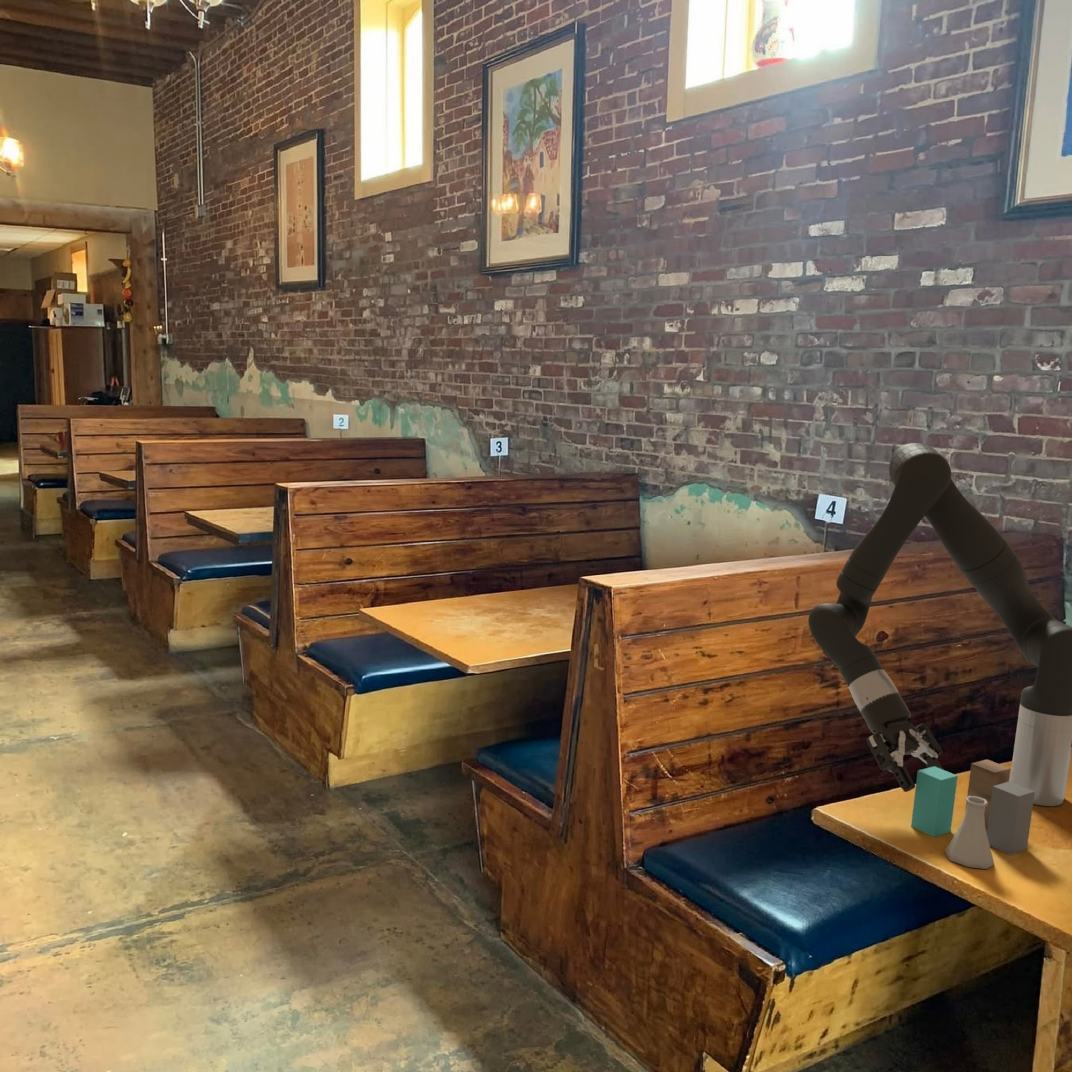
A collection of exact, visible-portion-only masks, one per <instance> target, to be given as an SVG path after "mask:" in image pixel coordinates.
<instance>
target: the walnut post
mask: <svg viewBox="0 0 1072 1072" xmlns="http://www.w3.org/2000/svg"><path fill="white" fill-rule="evenodd" d="M1010 774H1011V767H1008V766H1005V765H1003V764H1000V763H997V762H994V761H993V760H990V759H983V760H980V761H976V762H971V764H970V773H969V779H968V788H967V796H966V797H968V796H975V797H980V798H983V799H986V801H987V802H988V804H987V806H986V807H985V813H984V818H985V828H988V820H989V813H990V805H991V798H992V790H993V786H995V785H999V784H1002V783H1006V782H1010ZM965 803H966V804H965V810H964V811H965V812H966V808H967V802H965ZM965 812H964V813H965Z"/></svg>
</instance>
